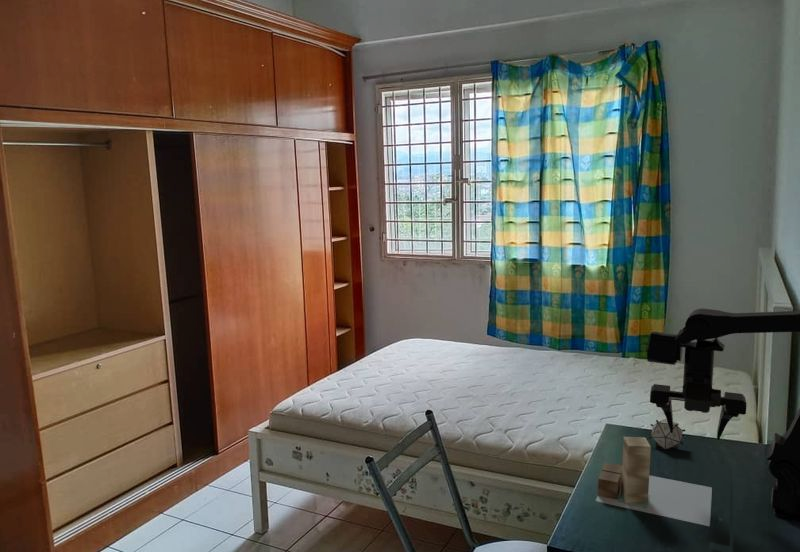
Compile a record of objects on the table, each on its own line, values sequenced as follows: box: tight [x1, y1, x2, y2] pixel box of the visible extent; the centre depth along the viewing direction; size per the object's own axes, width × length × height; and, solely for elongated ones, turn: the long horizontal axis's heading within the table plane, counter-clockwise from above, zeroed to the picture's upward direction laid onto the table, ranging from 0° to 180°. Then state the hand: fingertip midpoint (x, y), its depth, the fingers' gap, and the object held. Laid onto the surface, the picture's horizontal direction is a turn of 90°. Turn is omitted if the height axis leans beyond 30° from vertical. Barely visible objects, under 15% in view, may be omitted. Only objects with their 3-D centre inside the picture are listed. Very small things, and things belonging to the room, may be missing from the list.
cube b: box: [601, 461, 622, 489], centre depth 140 cm, size 4×4×4 cm
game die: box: [647, 418, 686, 450], centre depth 159 cm, size 9×8×10 cm
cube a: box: [597, 470, 621, 500], centre depth 136 cm, size 4×4×4 cm
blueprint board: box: [595, 474, 713, 527], centre depth 136 cm, size 22×17×1 cm
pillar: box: [621, 436, 652, 504], centre depth 133 cm, size 4×4×13 cm
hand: (694, 435), depth 137 cm, fingers open, 9 cm apart
